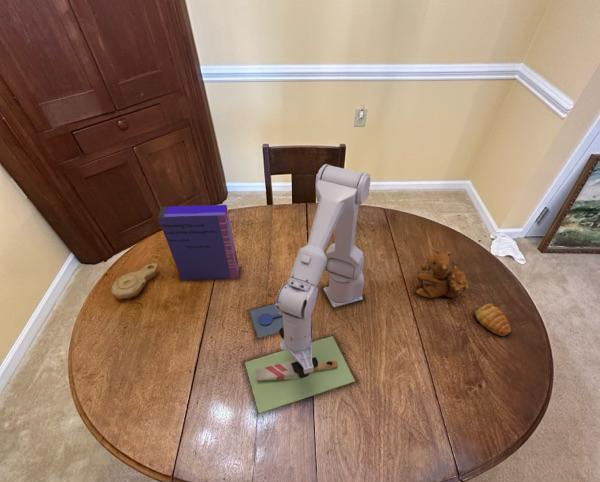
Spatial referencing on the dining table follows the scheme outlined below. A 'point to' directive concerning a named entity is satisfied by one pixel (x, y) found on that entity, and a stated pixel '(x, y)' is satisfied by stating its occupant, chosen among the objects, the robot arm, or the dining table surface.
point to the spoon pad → (273, 327)
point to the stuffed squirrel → (441, 278)
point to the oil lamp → (133, 282)
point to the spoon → (267, 319)
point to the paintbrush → (288, 371)
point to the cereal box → (200, 241)
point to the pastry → (493, 319)
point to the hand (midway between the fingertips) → (298, 362)
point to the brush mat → (290, 391)
